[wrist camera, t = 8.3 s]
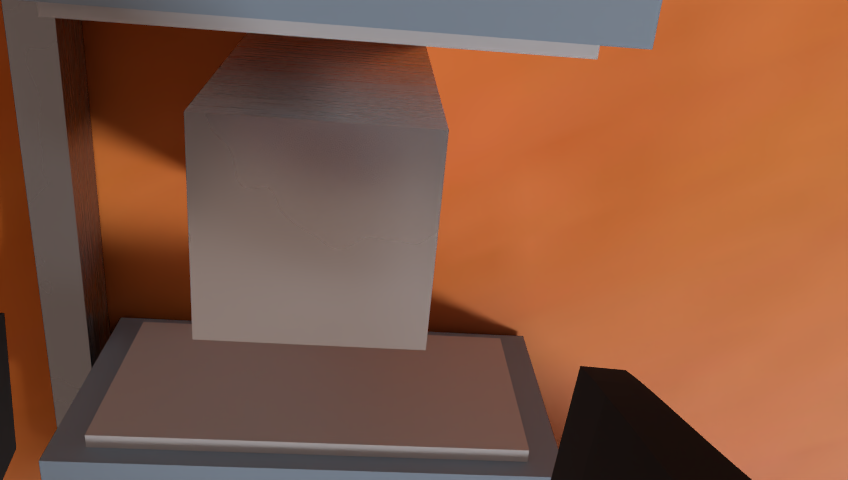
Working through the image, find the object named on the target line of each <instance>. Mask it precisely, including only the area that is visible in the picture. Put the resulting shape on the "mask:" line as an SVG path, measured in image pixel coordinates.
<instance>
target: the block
mask: <svg viewBox="0 0 848 480" xmlns="http://www.w3.org/2000/svg"><path fill="white" fill-rule="evenodd" d="M184 128H185V155H186V181H187V208H188V234H189V260H190V287H191V313H192V339H193V340H215V341H236V342H258V343H279V344H301V345H322V346H344V347H365V348H387V349H408V350H426V343H427V333H428V324H429V314H430V305H431V295H432V285H433V276H434V266H435V257H436V247H437V238H438V228H439V219H440V209H441V199H442V190H443V180H444V171H445V161H446V152H447V142H448V132H449V129H448V125H447V122H446V118H445V114H444V111H443V107H442V103H441V100H440V96H439V92H438V89H437V85H436V81H435V78H434V74H433V70H432V67H431V63H430V59H429V56H428V52H427V48H426V46H416V45H403V44H390V43H377V42H364V41H351V40H338V39H325V38H312V37H298V36H285V35H272V34H259V33H246V35H245V36H244V37H243V38H242V40H241V41H240V42H239V43H238V45H237V46H236V47H235V48H234V50H233V51H232V52H231V53H230V55H229V56H228V57H227V58H226V60H225V61H224V62H223V63H222V65H221V66H220V67H219V68H218V70H217V71H216V72H215V73H214V75H213V76H212V77H211V78H210V80H209V81H208V82H207V83H206V84H205V86H204V87H203V88H202V89H201V91H200V92H199V93H198V94H197V96H196V97H195V98H194V99H193V101H192V102H191V103H190V104H189V106H188V107H187V108H186V109H185V111H184Z"/></svg>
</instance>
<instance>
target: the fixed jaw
mask: <svg viewBox="0 0 848 480" xmlns="http://www.w3.org/2000/svg"><path fill="white" fill-rule="evenodd" d="M22 1H35V2H37V8H38V17H50V18H63V19H76V20H89V21H102V22H115V23H128V24H141V25H154V26H167V27H181V28H194V29H207V30H220V31H233V32H246V33H259V34H272V35H285V36H298V37H312V38H325V39H338V40H351V41H364V42H377V43H390V44H403V45H416V46H429V47H443V48H456V49H469V50H482V51H495V52H508V53H521V54H534V55H547V56H560V57H574V58H587V59H598V53H599V47H600V46H613V47H626V48H639V49H652V48H653V43H654V38H655V33H656V29H657V24H658V19H659V14H660V9H661V4H662V0H22Z"/></svg>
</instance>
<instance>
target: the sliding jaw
mask: <svg viewBox="0 0 848 480" xmlns="http://www.w3.org/2000/svg"><path fill="white" fill-rule="evenodd" d="M557 454H558V447H557V444H556V441H555V438H554V435H553V431H552V428H551V425H550V422H549V418H548V415H547V412H546V409H545V406H544V402H543V399H542V396H541V393H540V389H539V386H538V383H537V380H536V376H535V373H534V370H533V367H532V364H531V360H530V357H529V354H528V351H527V347H526V344H525V341H524V338H523V336H508V335H487V334H465V333H444V332H428V333H427V343H426V350H408V349H387V348H365V347H344V346H322V345H301V344H279V343H258V342H236V341H215V340H193V339H192V321H186V320H165V319H143V318H122V317H121V318H120V320H119V322H118V324H117V325H116V327H115V329H114V331H113V332H112V334H111V336H110V338H109V339H108V341H107V343H106V345H105V346H104V348H103V350H102V352H101V353H100V355H99V357H98V358H97V360H96V362H95V364H94V365H93V367H92V369H91V371H90V372H89V374H88V376H87V378H86V379H85V381H84V383H83V385H82V386H81V388H80V390H79V392H78V393H77V395H76V397H75V399H74V400H73V402H72V404H71V406H70V407H69V409H68V411H67V413H66V414H65V416H64V418H63V420H62V421H61V423H60V425H59V426H58V428H57V430H56V432H55V433H54V435H53V437H52V439H51V440H50V442H49V444H48V446H47V447H46V449H45V451H44V453H43V454H42V456H41V458H40V460H39V467H40V473H41V480H551V477H552V473H553V469H554V465H555V461H556V458H557Z"/></svg>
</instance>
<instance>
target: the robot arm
mask: <svg viewBox="0 0 848 480" xmlns="http://www.w3.org/2000/svg"><path fill="white" fill-rule="evenodd" d="M15 450H16V441H15V430H14V419H13V407H12V396H11V385H10V373H9V362H8V351H7V339H6V328H5V317H4V313H0V480H3V477H4V475H5V473H6V471H7V468H8V466H9V464H10V461H11V459H12V457H13V454H14V452H15ZM551 480H752V479H750V478H749V477H748V476H747V475H746V474H744V473H743V472H742V471H741V470H740V469H739V468H737V467H736V466H735V465H734V464H733V463H732V462H730V461H729V460H728V459H727V458H726V457H725V456H724V455H722V454H721V453H720V452H719V451H718V450H717V449H716V448H714V447H713V446H712V445H711V444H710V443H709V442H708V441H707V440H705V439H704V438H703V437H702V436H701V435H700V434H699V433H698V432H696V431H695V430H694V429H693V428H692V427H691V426H690V425H689V424H688V423H686V422H685V421H684V420H683V419H682V418H681V417H680V416H679V415H678V414H676V413H675V412H674V411H673V410H672V409H671V408H670V407H669V406H668V405H666V404H665V403H664V402H663V401H662V400H661V399H660V398H659V397H657V396H656V395H655V394H654V393H653V392H652V391H651V390H649V389H648V388H647V387H646V386H645V385H644V384H642V383H641V382H640V381H639V380H638V379H636V378H635V377H634V376H633V375H631V374H630V373H629V372H627V371H626V370H618V369H607V368H596V367H585V366H580V370H579V373H578V377H577V381H576V385H575V389H574V393H573V396H572V400H571V404H570V408H569V412H568V416H567V419H566V423H565V427H564V431H563V435H562V438H561V442H560V446H559V450H558V454H557V458H556V461H555V465H554V469H553V473H552V477H551Z"/></svg>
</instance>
